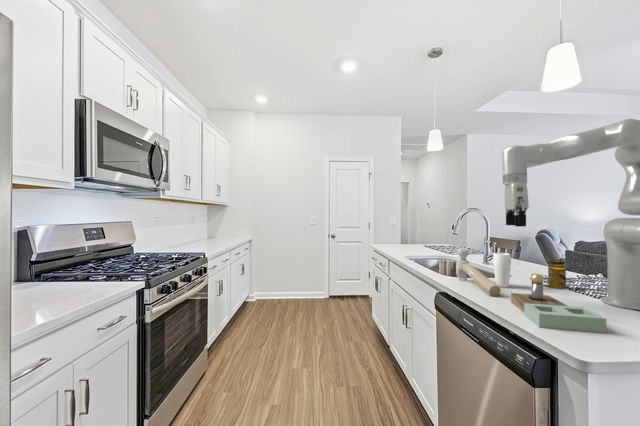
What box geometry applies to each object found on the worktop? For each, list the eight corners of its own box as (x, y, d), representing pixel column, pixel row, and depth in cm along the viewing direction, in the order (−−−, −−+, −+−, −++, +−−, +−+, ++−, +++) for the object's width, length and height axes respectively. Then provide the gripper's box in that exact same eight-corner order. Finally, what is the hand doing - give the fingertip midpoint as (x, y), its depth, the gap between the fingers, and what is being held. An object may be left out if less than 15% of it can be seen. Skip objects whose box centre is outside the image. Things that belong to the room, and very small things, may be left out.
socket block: (548, 304, 102) (548, 295, 102) (568, 316, 90) (568, 305, 90) (511, 302, 105) (511, 293, 105) (525, 313, 93) (525, 302, 93)
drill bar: (540, 307, 99) (540, 274, 99) (545, 310, 96) (544, 276, 96) (530, 307, 100) (529, 273, 100) (534, 310, 96) (534, 275, 97)
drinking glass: (495, 287, 126) (494, 254, 126) (492, 284, 132) (491, 252, 132) (512, 289, 123) (512, 255, 123) (509, 285, 130) (508, 253, 130)
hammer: (503, 273, 111) (466, 247, 140) (491, 273, 111) (456, 247, 140) (498, 309, 114) (462, 276, 143) (486, 309, 114) (453, 276, 143)
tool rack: (583, 319, 87) (583, 307, 87) (606, 333, 78) (606, 318, 78) (524, 315, 92) (524, 303, 92) (539, 327, 82) (539, 313, 82)
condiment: (570, 290, 121) (569, 262, 121) (546, 288, 124) (545, 261, 124) (562, 286, 128) (562, 260, 128) (539, 284, 131) (539, 259, 131)
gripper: (536, 176, 94) (537, 227, 94) (517, 181, 111) (518, 224, 111) (511, 177, 97) (512, 227, 97) (496, 182, 113) (496, 224, 113)
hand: (515, 225), depth 104 cm, fingers open, 9 cm apart
